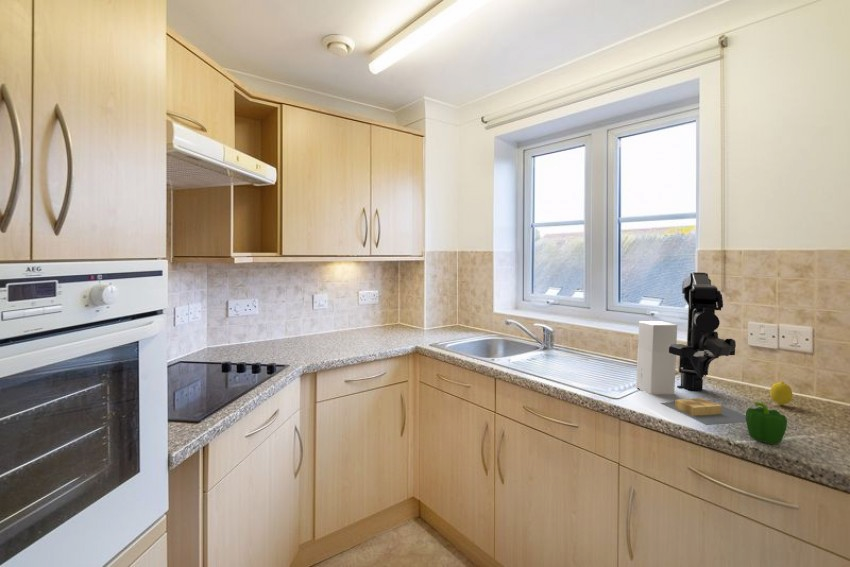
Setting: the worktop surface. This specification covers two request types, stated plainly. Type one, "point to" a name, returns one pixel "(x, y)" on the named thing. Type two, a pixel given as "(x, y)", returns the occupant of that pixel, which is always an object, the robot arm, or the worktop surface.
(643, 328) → the tall white carton
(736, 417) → the rubber mat
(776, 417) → the bell pepper
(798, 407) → the worktop surface
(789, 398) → the lemon
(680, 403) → the ochre block
